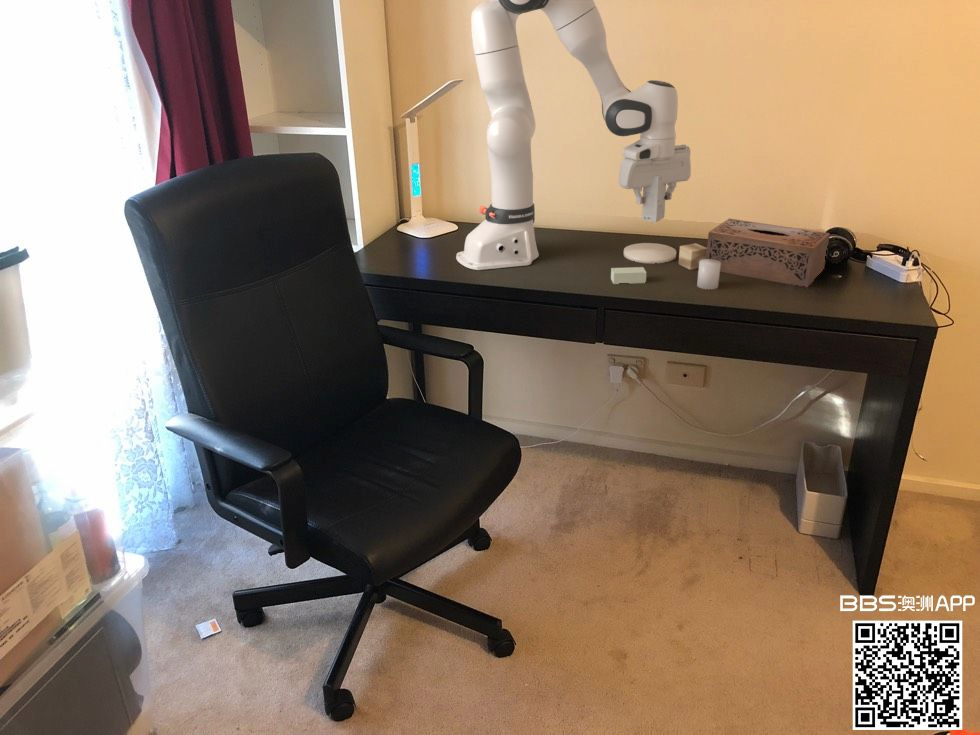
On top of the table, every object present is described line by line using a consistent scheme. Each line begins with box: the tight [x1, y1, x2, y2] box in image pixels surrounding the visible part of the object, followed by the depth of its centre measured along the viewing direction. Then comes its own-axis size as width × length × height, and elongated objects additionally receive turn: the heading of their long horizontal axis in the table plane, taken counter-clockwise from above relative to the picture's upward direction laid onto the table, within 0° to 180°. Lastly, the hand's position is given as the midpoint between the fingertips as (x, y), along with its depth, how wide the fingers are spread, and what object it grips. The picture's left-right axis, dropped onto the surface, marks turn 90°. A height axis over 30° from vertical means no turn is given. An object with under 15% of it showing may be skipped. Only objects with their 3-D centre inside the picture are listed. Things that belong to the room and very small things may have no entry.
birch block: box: [678, 242, 707, 270], centre depth 208 cm, size 5×5×5 cm
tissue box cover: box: [706, 218, 831, 288], centre depth 203 cm, size 26×14×10 cm, turn 55°
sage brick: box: [610, 266, 647, 285], centre depth 199 cm, size 8×4×3 cm, turn 92°
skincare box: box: [641, 175, 667, 223], centre depth 210 cm, size 6×4×12 cm
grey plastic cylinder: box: [696, 259, 721, 291], centre depth 194 cm, size 5×5×6 cm
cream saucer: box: [623, 242, 677, 265], centre depth 217 cm, size 14×14×1 cm
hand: (653, 201), depth 210 cm, fingers closed on skincare box, 7 cm apart
